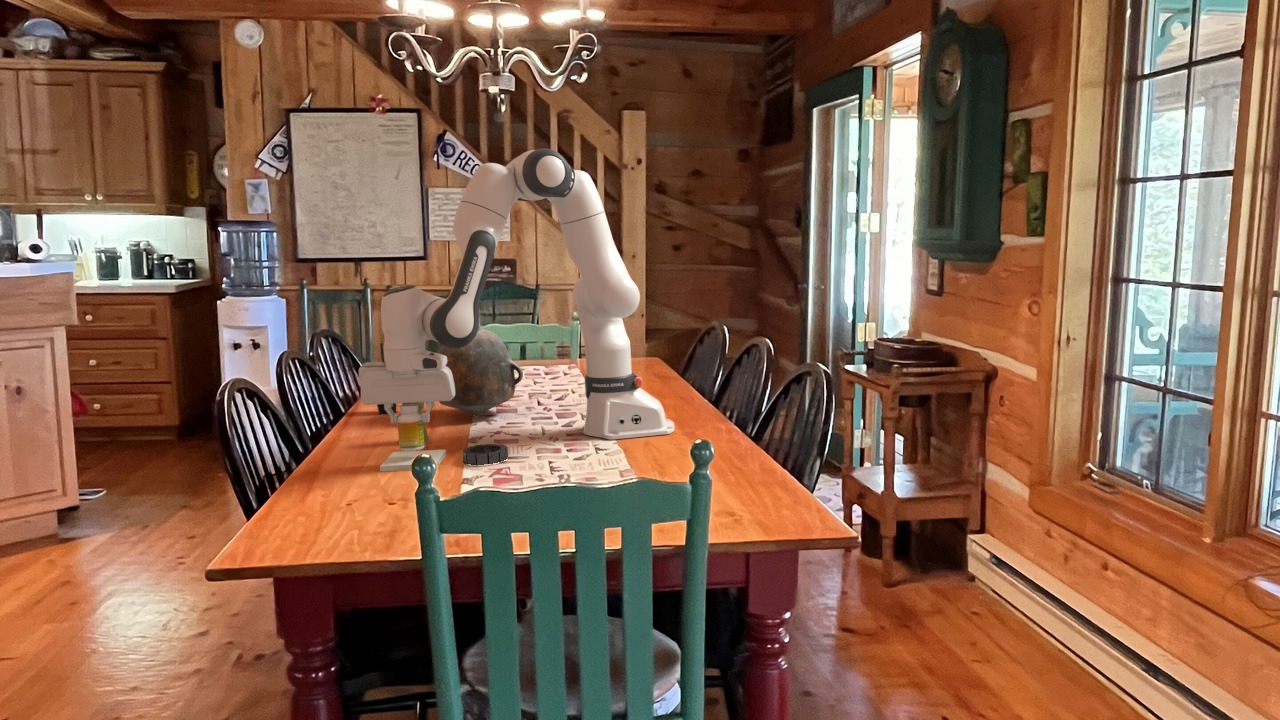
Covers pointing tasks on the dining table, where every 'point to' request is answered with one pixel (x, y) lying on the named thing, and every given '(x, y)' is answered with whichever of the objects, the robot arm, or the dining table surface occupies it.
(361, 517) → the dining table surface
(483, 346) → the jug
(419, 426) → the supplement bottle
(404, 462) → the board
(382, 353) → the drinking cup
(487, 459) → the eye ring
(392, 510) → the dining table surface
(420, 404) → the brown pawn
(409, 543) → the dining table surface
